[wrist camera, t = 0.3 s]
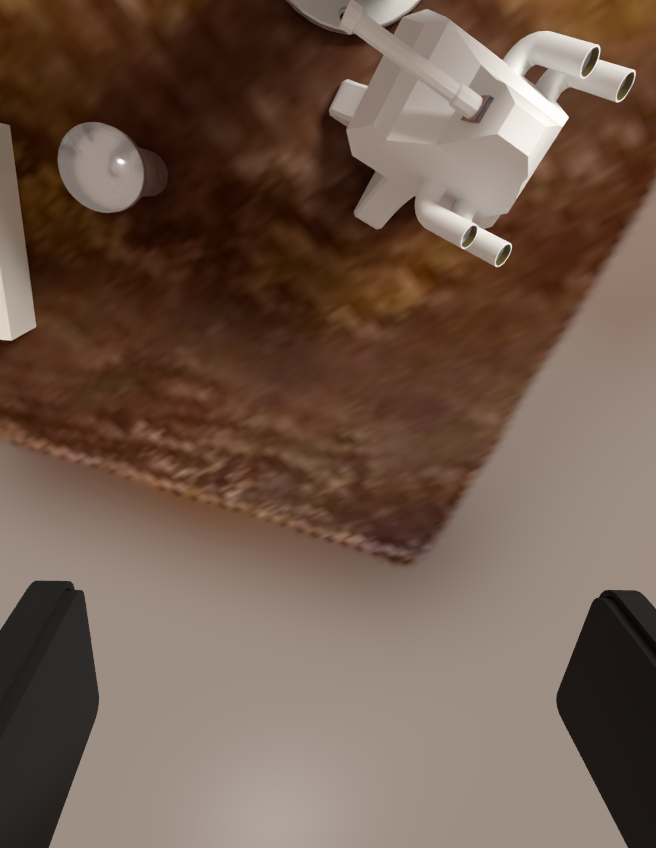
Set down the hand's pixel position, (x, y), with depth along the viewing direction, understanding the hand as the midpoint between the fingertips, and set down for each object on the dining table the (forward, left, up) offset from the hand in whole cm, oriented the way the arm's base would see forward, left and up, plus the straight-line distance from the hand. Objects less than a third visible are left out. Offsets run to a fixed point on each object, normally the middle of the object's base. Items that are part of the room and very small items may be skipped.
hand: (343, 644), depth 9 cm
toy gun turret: (-11, +6, -35) cm, 37 cm away
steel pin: (-7, -12, -35) cm, 37 cm away
